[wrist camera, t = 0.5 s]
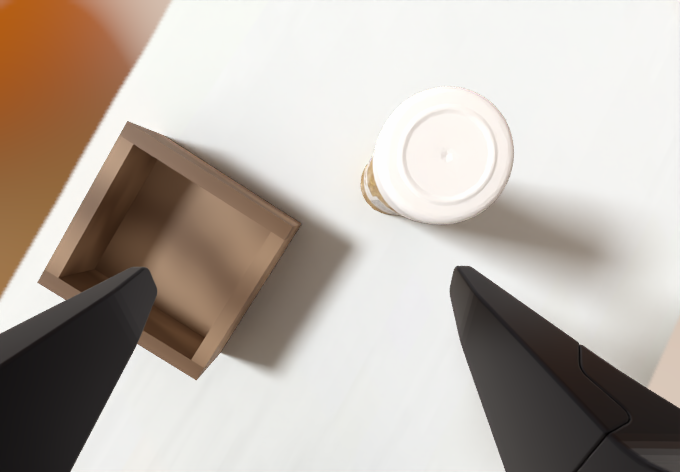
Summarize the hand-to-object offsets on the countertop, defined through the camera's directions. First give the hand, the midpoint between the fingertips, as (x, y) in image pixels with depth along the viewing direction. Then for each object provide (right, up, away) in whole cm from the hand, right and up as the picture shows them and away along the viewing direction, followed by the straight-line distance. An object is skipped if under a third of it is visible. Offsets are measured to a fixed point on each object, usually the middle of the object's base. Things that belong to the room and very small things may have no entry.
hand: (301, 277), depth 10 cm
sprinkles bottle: (+5, +5, +14) cm, 16 cm away
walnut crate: (-10, 0, +15) cm, 18 cm away
